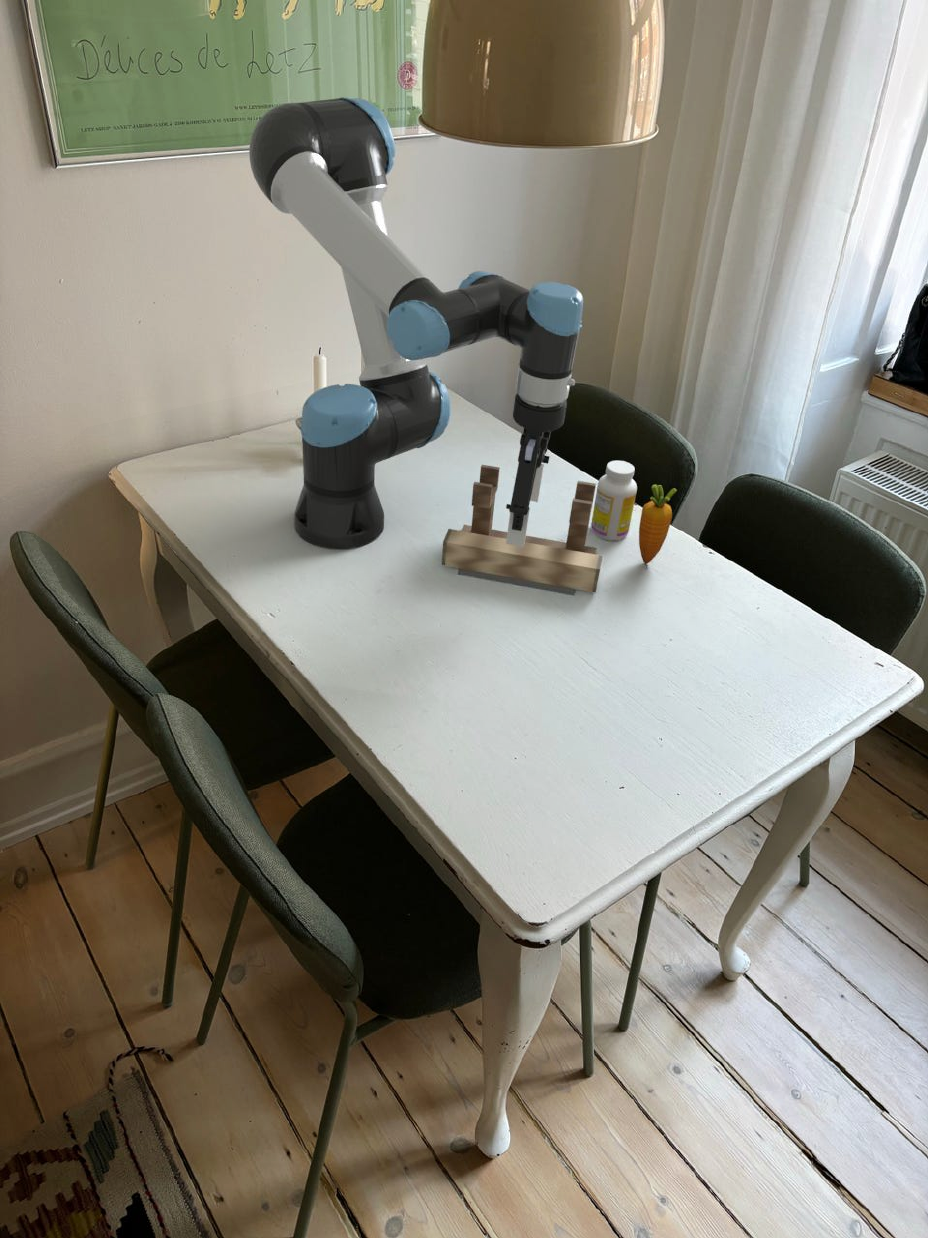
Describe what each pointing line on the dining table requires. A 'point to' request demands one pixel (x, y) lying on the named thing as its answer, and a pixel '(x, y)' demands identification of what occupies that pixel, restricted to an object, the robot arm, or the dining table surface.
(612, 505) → the supplement bottle
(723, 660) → the dining table surface
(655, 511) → the carrot
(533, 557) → the rail
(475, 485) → the rack
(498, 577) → the mat
